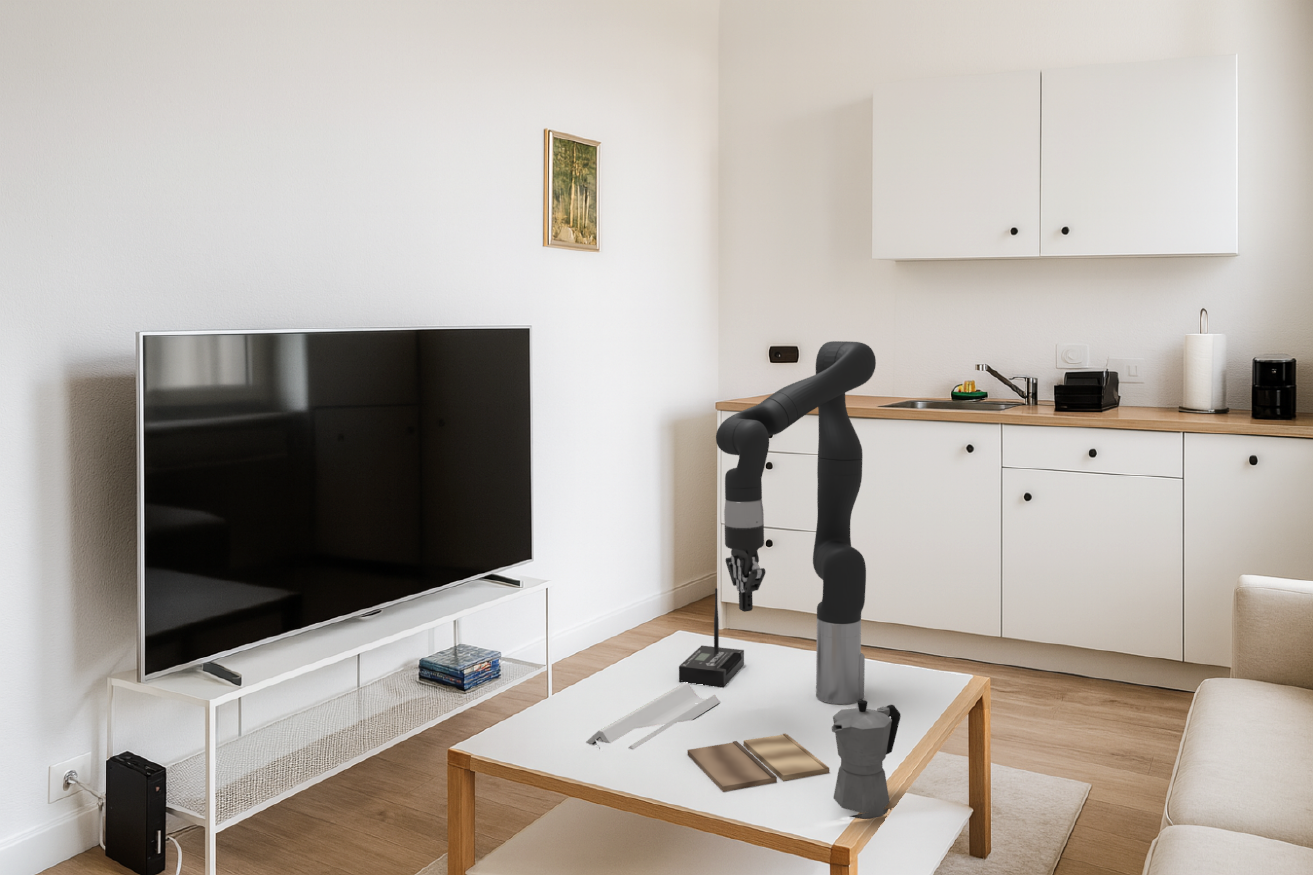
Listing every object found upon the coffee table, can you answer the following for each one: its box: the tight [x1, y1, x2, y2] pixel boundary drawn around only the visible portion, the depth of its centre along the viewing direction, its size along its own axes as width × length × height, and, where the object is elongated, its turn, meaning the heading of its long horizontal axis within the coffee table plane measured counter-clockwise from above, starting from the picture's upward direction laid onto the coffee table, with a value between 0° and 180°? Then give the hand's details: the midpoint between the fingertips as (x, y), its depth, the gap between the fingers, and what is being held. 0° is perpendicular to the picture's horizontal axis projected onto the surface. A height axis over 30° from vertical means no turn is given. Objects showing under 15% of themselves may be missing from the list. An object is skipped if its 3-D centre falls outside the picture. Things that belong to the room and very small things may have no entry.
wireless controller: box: [678, 587, 745, 689], centre depth 233 cm, size 20×14×17 cm
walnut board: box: [687, 740, 778, 793], centre depth 179 cm, size 10×16×2 cm, turn 20°
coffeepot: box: [831, 699, 902, 820], centre depth 166 cm, size 15×9×18 cm, turn 125°
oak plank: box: [742, 733, 830, 782], centre depth 183 cm, size 16×9×2 cm, turn 20°
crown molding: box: [585, 682, 721, 750], centre depth 203 cm, size 31×12×4 cm, turn 147°
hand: (745, 610), depth 197 cm, fingers closed
